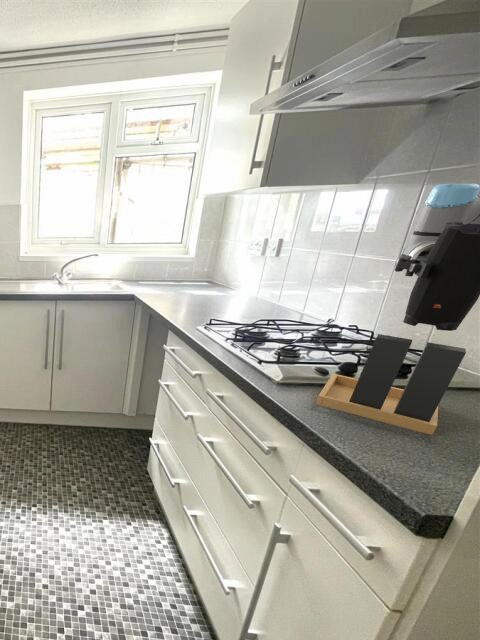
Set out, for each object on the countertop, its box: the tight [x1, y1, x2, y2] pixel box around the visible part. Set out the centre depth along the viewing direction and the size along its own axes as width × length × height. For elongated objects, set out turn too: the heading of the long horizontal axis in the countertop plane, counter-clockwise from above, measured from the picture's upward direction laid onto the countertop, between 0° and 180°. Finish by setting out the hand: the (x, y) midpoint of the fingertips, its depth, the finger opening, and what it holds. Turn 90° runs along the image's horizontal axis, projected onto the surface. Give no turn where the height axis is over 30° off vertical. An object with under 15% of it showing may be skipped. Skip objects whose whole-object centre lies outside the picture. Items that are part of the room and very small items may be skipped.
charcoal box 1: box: [349, 333, 413, 410], centre depth 85 cm, size 5×3×16 cm, turn 43°
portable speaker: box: [402, 222, 480, 332], centre depth 80 cm, size 9×9×20 cm
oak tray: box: [315, 373, 439, 436], centre depth 90 cm, size 18×18×3 cm
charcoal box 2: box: [393, 341, 467, 422], centre depth 80 cm, size 5×3×16 cm, turn 43°
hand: (461, 273), depth 77 cm, fingers closed on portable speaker, 8 cm apart
